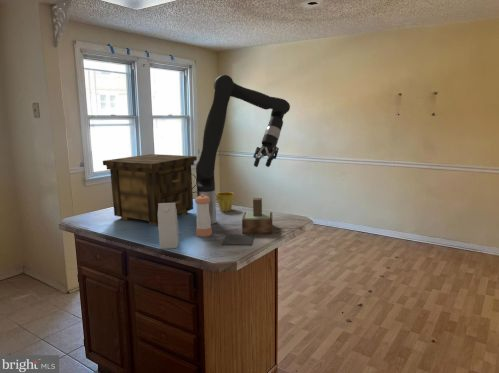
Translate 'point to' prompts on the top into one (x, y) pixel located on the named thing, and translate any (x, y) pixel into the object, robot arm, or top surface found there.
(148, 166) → the crate
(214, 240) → the top surface
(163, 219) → the milk carton
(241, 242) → the mat
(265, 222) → the crate
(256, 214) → the lid
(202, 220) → the pepper shaker
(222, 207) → the plant pot
